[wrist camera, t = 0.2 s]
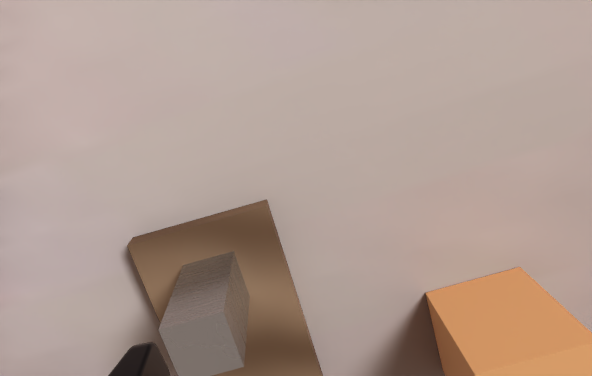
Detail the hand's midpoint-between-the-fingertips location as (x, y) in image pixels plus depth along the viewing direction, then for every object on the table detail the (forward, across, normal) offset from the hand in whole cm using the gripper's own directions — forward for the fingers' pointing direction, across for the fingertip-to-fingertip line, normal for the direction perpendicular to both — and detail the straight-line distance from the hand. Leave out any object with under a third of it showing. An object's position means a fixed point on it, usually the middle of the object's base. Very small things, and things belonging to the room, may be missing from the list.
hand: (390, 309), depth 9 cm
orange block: (+12, -7, +15) cm, 20 cm away
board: (+12, +6, +14) cm, 19 cm away
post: (+13, +6, +9) cm, 17 cm away
